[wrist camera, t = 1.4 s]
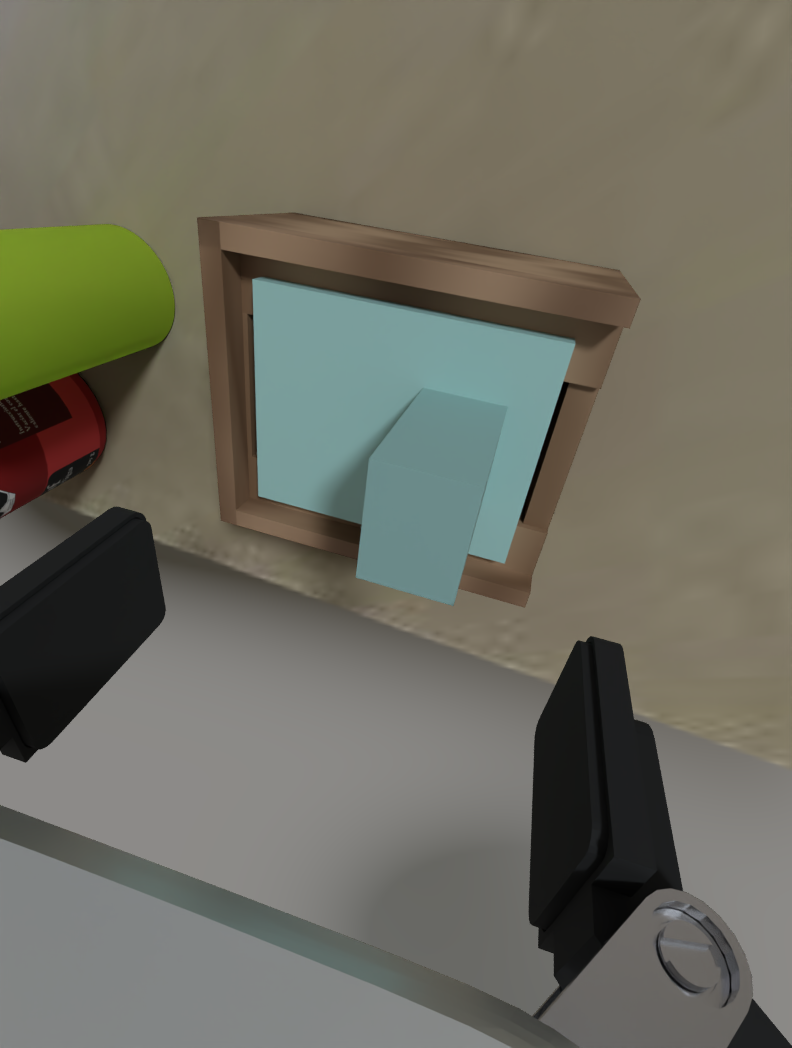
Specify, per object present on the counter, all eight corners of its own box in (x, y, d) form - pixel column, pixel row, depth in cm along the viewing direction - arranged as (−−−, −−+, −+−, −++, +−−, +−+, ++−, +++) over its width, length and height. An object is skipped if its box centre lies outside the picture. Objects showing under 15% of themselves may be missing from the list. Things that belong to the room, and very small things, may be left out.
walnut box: (619, 270, 20) (640, 299, 14) (534, 519, 27) (524, 607, 21) (293, 212, 22) (197, 217, 17) (290, 456, 29) (221, 520, 23)
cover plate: (575, 338, 16) (579, 408, 11) (506, 552, 21) (485, 675, 16) (263, 276, 18) (130, 309, 13) (266, 487, 23) (172, 578, 18)
